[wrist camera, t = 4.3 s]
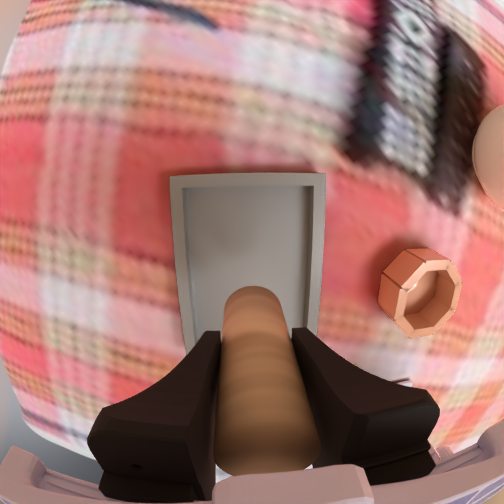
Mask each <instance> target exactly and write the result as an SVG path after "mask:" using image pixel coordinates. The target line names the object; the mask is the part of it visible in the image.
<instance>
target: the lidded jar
mask: <svg viewBox="0 0 504 504" xmlns="http://www.w3.org/2000/svg"><path fill="white" fill-rule="evenodd" d="M472 162H473V167H474V171H475V174H476V176H477V178H478V180H479V181H480V183H481V186H482V188H483V190H484V191H485V193H486V195H487V196H488V197H489V199H490V200H491V202H492V203H493V204H494V205H495V206H496V207H498V208H499V209H500V210H501V211H502V212H504V104H501V105H500V106H498V107H496V108H494V109H492V110H491V111H490V112H489V113H488V114H487V115H486V116H485V117H484V119H483V120H482V122H481V124H480V125H479V128H478V130H477V133H476V135H475V137H474V140H473V145H472Z"/></svg>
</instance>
